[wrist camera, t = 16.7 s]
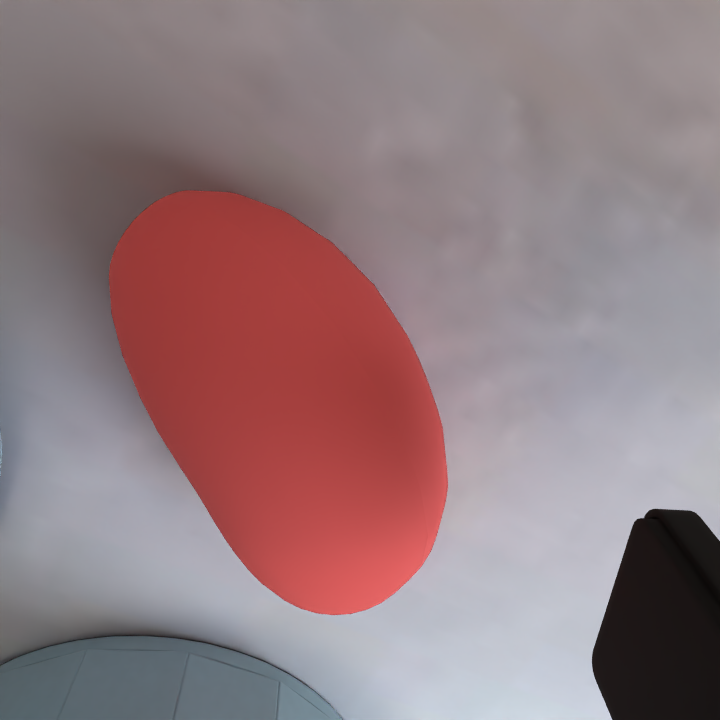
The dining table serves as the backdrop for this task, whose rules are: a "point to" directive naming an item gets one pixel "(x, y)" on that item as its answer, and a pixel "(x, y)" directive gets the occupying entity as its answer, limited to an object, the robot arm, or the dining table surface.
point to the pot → (151, 683)
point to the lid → (0, 452)
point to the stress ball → (282, 396)
